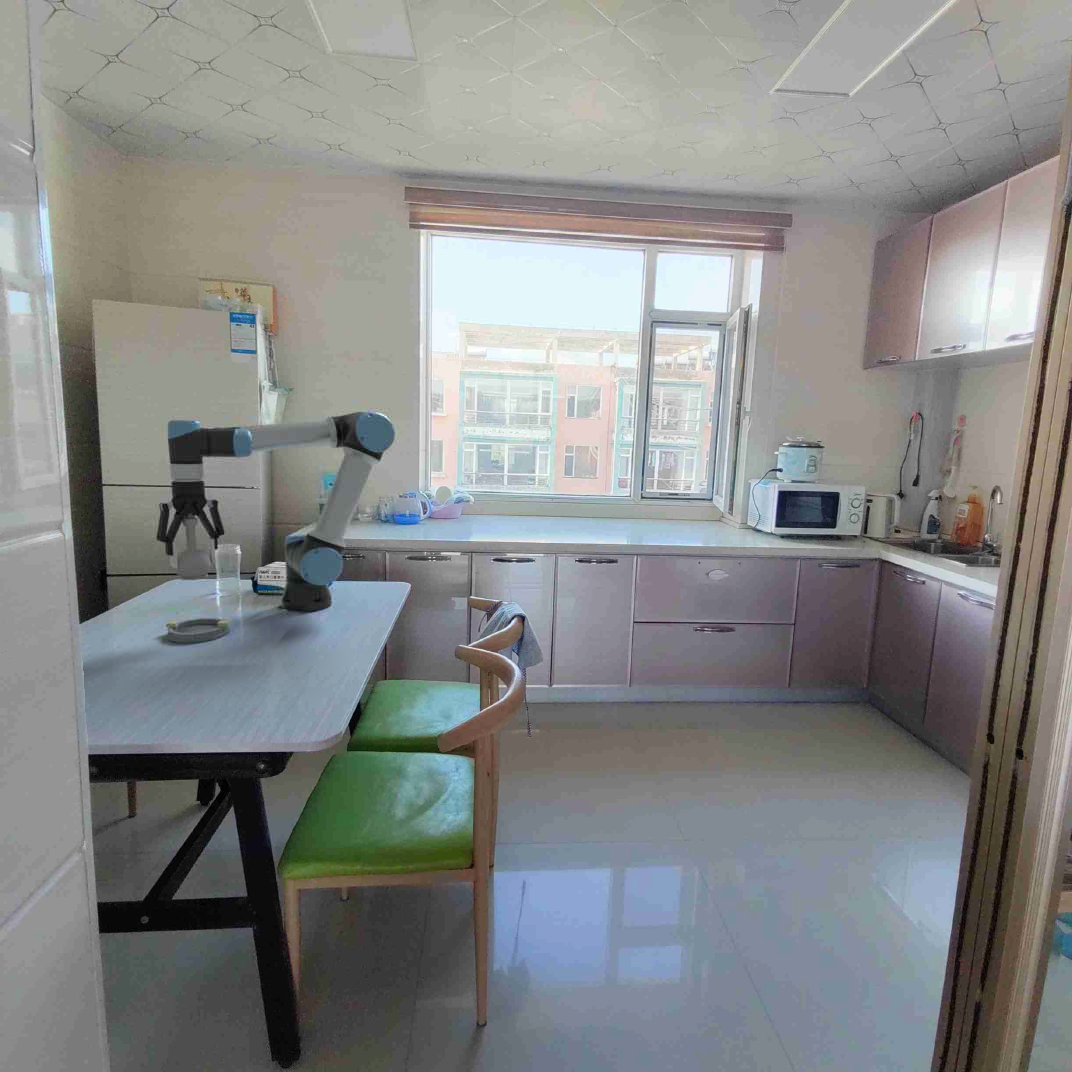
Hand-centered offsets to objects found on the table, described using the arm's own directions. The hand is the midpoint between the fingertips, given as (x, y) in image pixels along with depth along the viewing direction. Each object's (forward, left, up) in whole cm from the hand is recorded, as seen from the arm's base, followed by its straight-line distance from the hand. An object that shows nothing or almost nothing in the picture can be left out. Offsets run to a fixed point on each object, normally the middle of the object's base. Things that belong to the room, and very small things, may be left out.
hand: (193, 564), depth 164 cm
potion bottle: (0, 0, -4) cm, 4 cm away
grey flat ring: (0, 0, -19) cm, 19 cm away
